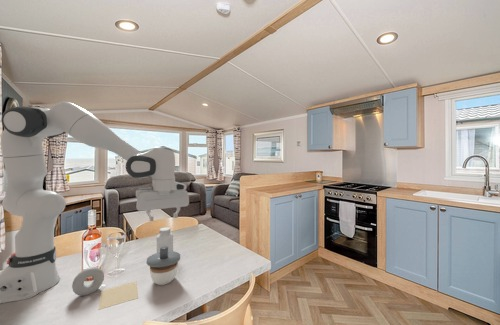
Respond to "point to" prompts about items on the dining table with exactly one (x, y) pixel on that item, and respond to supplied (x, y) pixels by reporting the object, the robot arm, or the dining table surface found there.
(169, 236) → the pill bottle
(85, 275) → the donut
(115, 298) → the mat
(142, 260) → the dining table surface
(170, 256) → the lid
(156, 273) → the lidded jar
